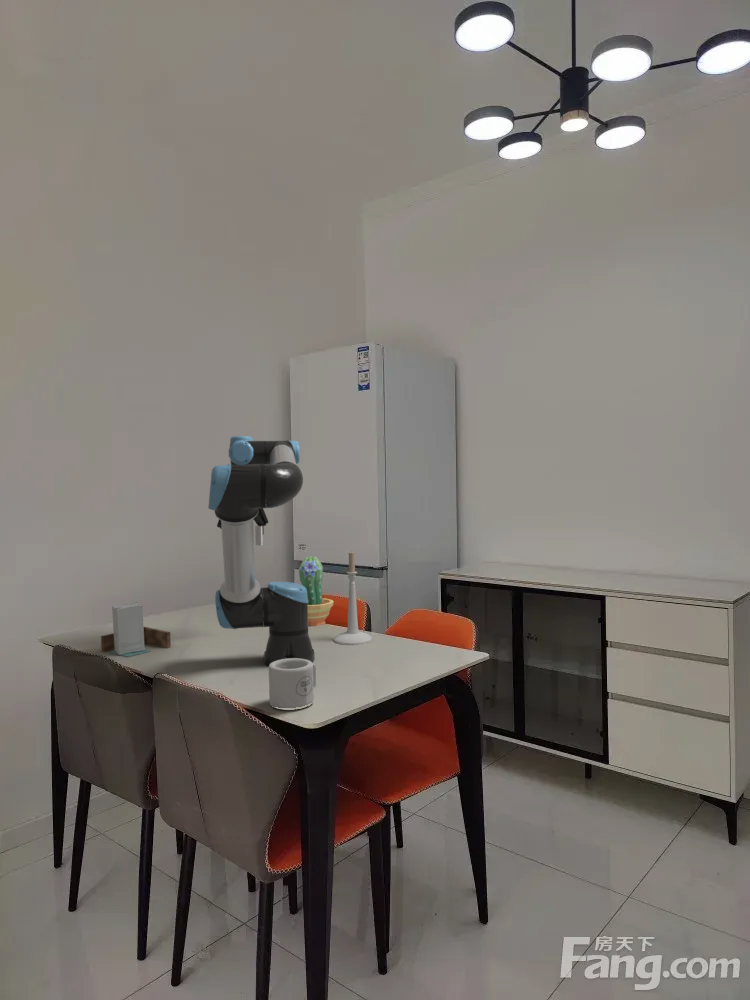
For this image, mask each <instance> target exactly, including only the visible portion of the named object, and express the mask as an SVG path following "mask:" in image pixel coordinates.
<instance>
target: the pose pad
mask: <svg viewBox="0 0 750 1000" xmlns="http://www.w3.org/2000/svg"><path fill="white" fill-rule="evenodd" d="M150 652H151V650H148V649H145V650H143V651H137V652H131V653H126V654H121V655H119V654H118V653H117V652H116V651H115V650H111V651H109V653H110V654H115V655H119V656H121V657H125V658H129V657H134V656H135V657H136V656H139V655H142V654H146V653H150Z"/></svg>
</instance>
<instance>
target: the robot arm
mask: <svg viewBox="0 0 750 1000" xmlns="http://www.w3.org/2000/svg"><path fill="white" fill-rule="evenodd" d="M229 439H230V440H229V448H228V457H229V460H230V463H228V464H221V465H219V464H218V465H215V466H214V467H213V468H212V470H211V472H210V473H211V476H210V485H209V486H210V487H209V494H208V497H209V498H208V509H209V510H212V511H214V514H215V517H216V518H217V519H218V522H217V525H216V527H217V528H219V529H221V541H222V542H221V543H222V558H223V571H224V572H223V573H224V574H223V576H224V581H223V582H222V584H221V585H220V587H219V589H217V590H215V595H214V597H215V599H214V601H215V603H214V604H215V609H216V610H215V612H216V617H217V620H218V624H219V626H221V628H223V629H225V630H226V629H227V630H228V629H229V630H230V629H233V630H238V629H250V628H254V629H255V628H268V639H267V643H266V646H265V651H264V653H263V663H264V664H266V665H267V666H269V665H270V664H271V663H272V662H274V661H277V660H281V659H288V658H300V659H306V660H309V661H311V662H312V663H314V661H315V658H316V657H315V650H314V648H313V645H312V641H311V638H310V634H309V626H308V604H307V603H308V598H307V589H306V588H305V587H304V586H302V584H301V583H296V582H290V581H270V582H268V584H267V587H261V584H260V582H259V581H258V580H257V579H256V570H255V569H256V567H255V566H256V563H255V562H256V561H255V545H256V546H264V545H263V543H264V539H263V536H264V534H265V532H264V530H265V529H264V527H266V526H267V524H269V519H268V517H267V514H266V512H265V510H264V509H274V508H278V507H280V506H283V505H286V504H287V503H290V501H292V500H293V499H294V498H296V496H297V495H298V494H299V493H300V491H301V490H302V488H303V483H304V478H303V473H302V472H303V471H301V468H300V467H299V466H298V465H297V464H299V463H300V458H301V455H300V452H301V451H300V450H301V448H300V443H299V441H298V440H289V439H287V440H253V437H252V436H250V435H248V436H247V435H235V436H231V437H230V438H229ZM254 522H255V524H256V525H255V526H254ZM254 527H255V529H254ZM254 530H255V531H254ZM254 532H255V534H254ZM254 536H255V537H254Z"/></svg>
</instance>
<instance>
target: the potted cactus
mask: <svg viewBox="0 0 750 1000" xmlns="http://www.w3.org/2000/svg"><path fill="white" fill-rule="evenodd" d="M298 573H299V574H298V575H299V577H298V578H299V582H300V585H302V586H304V587H305V588H306V589H307V598H308V603H307V604H308V627H311V626H313V627H314V626H321V625H320V624H322V625H324V624H326V619H327V618H328V617H329V614H330V612H331V609H332V607H333V606H334V604H335V603H334V600H333V599H329V598H325V597H324V598H323V591H322V581H323V577H324V576H323V574H324V567H323V564H322V563H321V561H320V560H319V558H318V557H317V555H315V556H312V555H310V556H305V557H304V559H303V560H302V562H301V564H300V566H299V567H298Z"/></svg>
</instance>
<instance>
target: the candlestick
mask: <svg viewBox="0 0 750 1000" xmlns="http://www.w3.org/2000/svg"><path fill="white" fill-rule="evenodd" d="M355 553H356V552H355V551H349V552H348V571H347V572H346V574H347V575H348V576H347V578H348V581H349V583H348V609H347V629H346V630H347V631H344V632H341V633H339V634H337V635H336V636H335V637H334V638H333V642H334V643H335V644H337V643H338V644H339V645H345V646H359V645H358V644H361V645H364V644H363V643H366V642H368V641H370V640H371V639H372V640H373V638H372V636H371V635H370V634H368V633H366V632H362V631H359V624H358V609H357V591H356V582H355V580H356V578H357V574H358V571H356V566H355V565H356V559H355V558H356V557H355V555H356V554H355ZM366 644H367V643H366Z"/></svg>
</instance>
